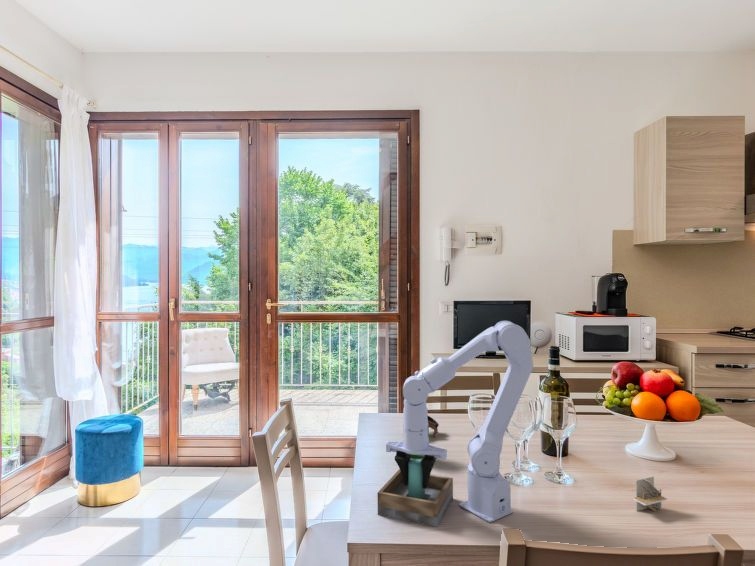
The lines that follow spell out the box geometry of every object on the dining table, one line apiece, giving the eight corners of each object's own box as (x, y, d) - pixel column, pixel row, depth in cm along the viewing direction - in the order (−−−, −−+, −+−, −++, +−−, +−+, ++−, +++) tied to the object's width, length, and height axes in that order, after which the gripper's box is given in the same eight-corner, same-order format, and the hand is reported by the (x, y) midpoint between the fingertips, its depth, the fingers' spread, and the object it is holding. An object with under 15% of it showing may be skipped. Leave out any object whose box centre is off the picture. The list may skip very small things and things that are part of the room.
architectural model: (667, 514, 106) (667, 482, 106) (645, 520, 103) (645, 487, 103) (654, 507, 109) (653, 476, 109) (632, 513, 106) (631, 481, 106)
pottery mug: (412, 430, 167) (423, 410, 166) (433, 446, 162) (445, 426, 162) (398, 431, 156) (410, 410, 156) (420, 449, 151) (433, 427, 151)
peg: (428, 496, 110) (428, 462, 110) (415, 501, 107) (416, 466, 108) (417, 491, 113) (417, 457, 113) (404, 495, 111) (404, 461, 111)
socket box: (452, 498, 114) (452, 478, 114) (437, 526, 101) (436, 503, 101) (399, 488, 119) (399, 469, 119) (377, 514, 106) (377, 492, 106)
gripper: (450, 426, 111) (450, 483, 111) (393, 419, 117) (393, 473, 117) (442, 435, 104) (442, 496, 104) (382, 428, 110) (382, 485, 110)
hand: (416, 485), depth 110 cm, fingers closed on peg, 4 cm apart
